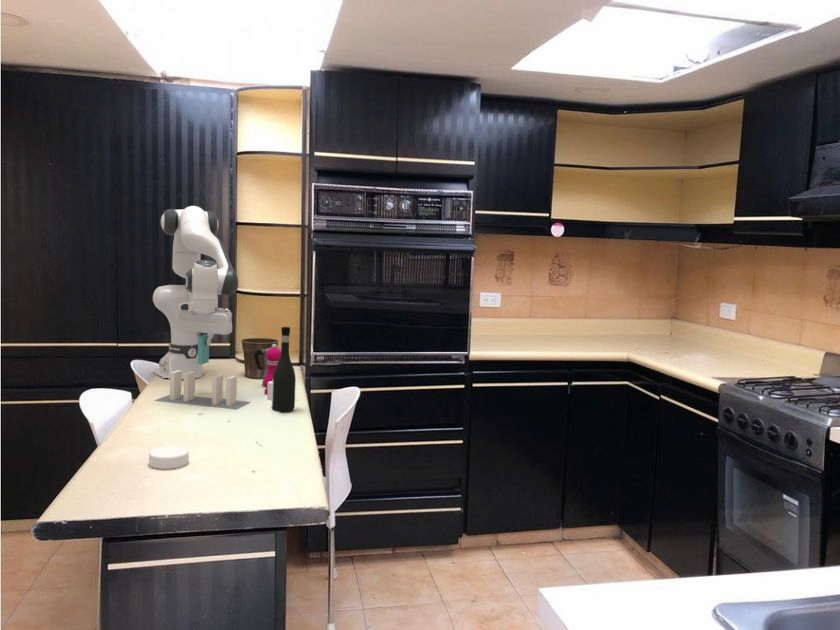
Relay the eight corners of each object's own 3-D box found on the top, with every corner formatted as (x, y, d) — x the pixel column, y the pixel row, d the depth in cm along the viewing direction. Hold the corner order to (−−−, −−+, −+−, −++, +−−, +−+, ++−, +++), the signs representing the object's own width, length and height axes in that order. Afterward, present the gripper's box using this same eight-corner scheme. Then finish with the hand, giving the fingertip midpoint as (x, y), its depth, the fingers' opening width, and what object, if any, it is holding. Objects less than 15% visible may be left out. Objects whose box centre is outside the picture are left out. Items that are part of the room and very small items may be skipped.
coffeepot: (281, 382, 284) (283, 340, 283) (292, 386, 277) (294, 344, 275) (248, 385, 275) (249, 342, 273) (258, 390, 267) (259, 345, 266)
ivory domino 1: (169, 399, 243) (170, 372, 242) (177, 396, 248) (177, 370, 247) (173, 400, 243) (174, 373, 242) (181, 397, 248) (181, 370, 247)
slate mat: (153, 401, 240) (153, 400, 240) (171, 394, 252) (171, 393, 252) (236, 410, 235) (236, 409, 235) (251, 403, 247) (251, 401, 246)
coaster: (175, 455, 185) (176, 443, 185) (196, 464, 179) (196, 451, 179) (141, 463, 178) (141, 450, 177) (161, 473, 171) (161, 459, 171)
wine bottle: (266, 410, 237) (269, 326, 234) (281, 406, 244) (284, 325, 241) (284, 414, 234) (287, 329, 230) (298, 409, 241) (302, 327, 237)
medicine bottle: (279, 403, 248) (280, 372, 246) (266, 400, 252) (267, 369, 251) (293, 400, 253) (294, 369, 252) (281, 397, 258) (282, 366, 256)
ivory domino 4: (225, 405, 239) (226, 378, 238) (232, 402, 244) (232, 375, 243) (229, 406, 239) (230, 378, 238) (236, 403, 244) (237, 376, 243)
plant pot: (237, 373, 298) (237, 337, 296) (273, 372, 305) (274, 337, 303) (243, 380, 284) (244, 343, 282) (281, 379, 290) (282, 342, 289)
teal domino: (197, 364, 237) (198, 336, 236) (204, 361, 242) (205, 334, 241) (201, 364, 237) (202, 336, 235) (208, 361, 242) (209, 334, 240)
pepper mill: (277, 397, 258) (279, 346, 256) (259, 395, 259) (261, 344, 257) (284, 393, 265) (286, 343, 263) (267, 391, 266) (269, 341, 264)
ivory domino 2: (183, 401, 242) (183, 374, 241) (190, 398, 247) (191, 371, 246) (187, 401, 242) (187, 374, 241) (194, 398, 247) (195, 372, 246)
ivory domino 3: (211, 404, 240) (212, 376, 239) (218, 401, 245) (219, 374, 244) (215, 404, 240) (216, 377, 239) (222, 401, 245) (223, 374, 244)
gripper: (236, 308, 238) (234, 346, 240) (183, 303, 242) (182, 340, 243) (227, 310, 232) (226, 349, 234) (173, 304, 235) (173, 343, 237)
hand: (203, 344), depth 238 cm, fingers closed on teal domino, 2 cm apart
